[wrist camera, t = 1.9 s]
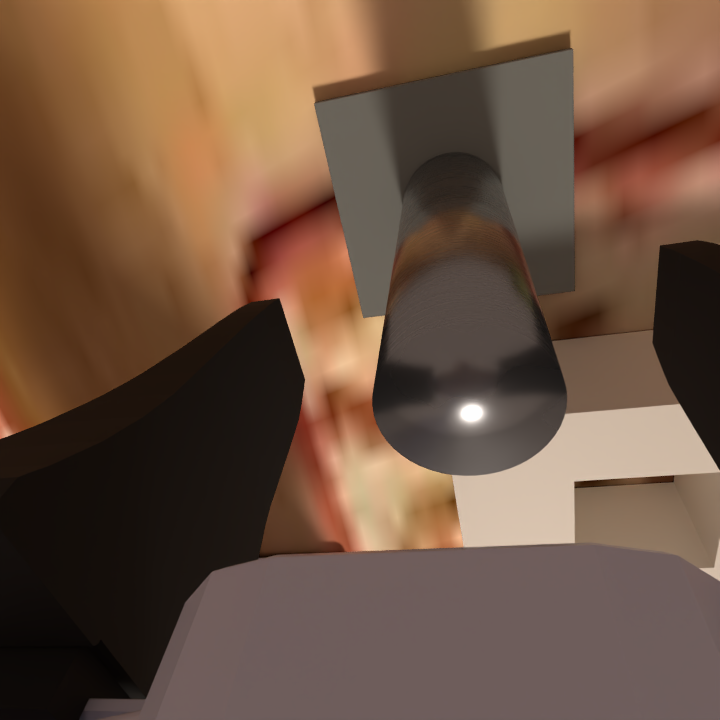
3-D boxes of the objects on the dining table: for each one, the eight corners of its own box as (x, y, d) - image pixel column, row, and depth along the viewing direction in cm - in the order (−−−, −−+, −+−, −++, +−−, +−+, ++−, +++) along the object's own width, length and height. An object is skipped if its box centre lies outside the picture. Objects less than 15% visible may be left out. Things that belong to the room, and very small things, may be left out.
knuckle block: (470, 537, 26) (475, 619, 22) (442, 353, 21) (443, 424, 17) (767, 524, 23) (822, 614, 20) (820, 310, 18) (906, 384, 15)
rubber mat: (364, 313, 20) (363, 318, 20) (315, 102, 16) (314, 103, 16) (572, 286, 19) (574, 290, 18) (570, 48, 15) (573, 49, 15)
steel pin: (411, 256, 18) (390, 481, 10) (395, 162, 17) (354, 336, 8) (506, 242, 18) (568, 469, 9) (499, 143, 16) (565, 311, 8)
